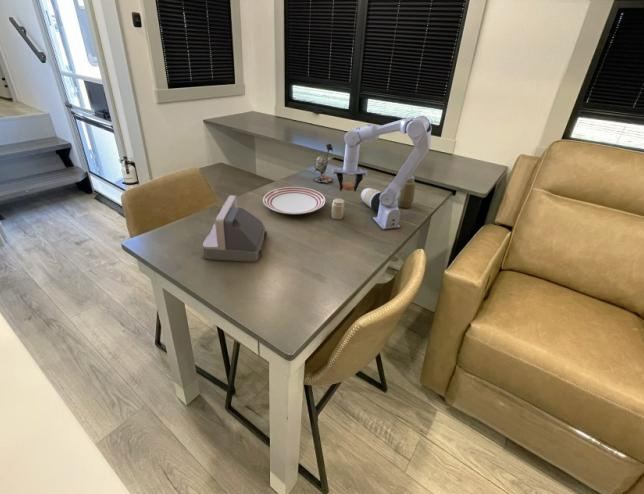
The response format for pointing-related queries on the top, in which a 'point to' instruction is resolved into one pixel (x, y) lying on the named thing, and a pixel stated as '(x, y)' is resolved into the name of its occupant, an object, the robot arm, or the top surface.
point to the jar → (337, 209)
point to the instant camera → (234, 234)
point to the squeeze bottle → (407, 193)
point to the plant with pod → (322, 166)
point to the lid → (348, 186)
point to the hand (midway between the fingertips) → (347, 190)
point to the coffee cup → (371, 198)
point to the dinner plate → (294, 200)
